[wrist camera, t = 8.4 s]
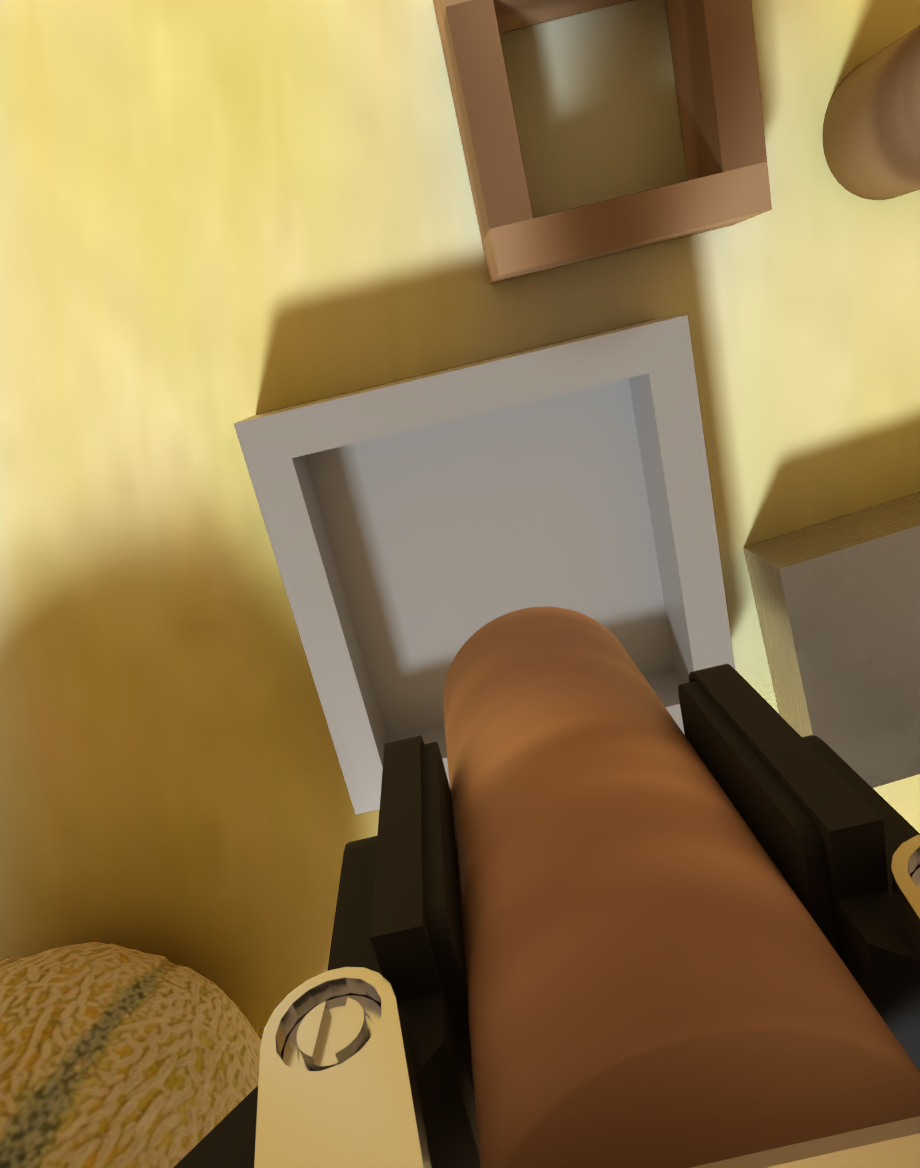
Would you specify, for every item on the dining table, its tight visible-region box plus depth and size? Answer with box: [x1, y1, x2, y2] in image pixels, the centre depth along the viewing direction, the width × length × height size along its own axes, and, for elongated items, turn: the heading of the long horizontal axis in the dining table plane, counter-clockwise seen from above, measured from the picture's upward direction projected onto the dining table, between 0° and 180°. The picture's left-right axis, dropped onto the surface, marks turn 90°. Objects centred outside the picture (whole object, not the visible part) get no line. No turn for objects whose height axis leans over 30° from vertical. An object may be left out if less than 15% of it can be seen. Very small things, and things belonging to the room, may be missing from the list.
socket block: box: [433, 0, 772, 283], centre depth 20 cm, size 7×7×2 cm
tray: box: [234, 315, 735, 815], centre depth 23 cm, size 12×12×3 cm
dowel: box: [443, 606, 920, 1168], centre depth 10 cm, size 4×4×9 cm
